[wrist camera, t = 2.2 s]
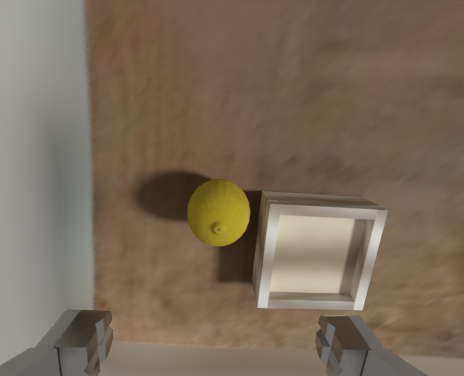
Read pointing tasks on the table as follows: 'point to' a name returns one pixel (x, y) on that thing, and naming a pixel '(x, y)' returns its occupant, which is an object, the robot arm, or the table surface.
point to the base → (315, 250)
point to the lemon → (218, 212)
